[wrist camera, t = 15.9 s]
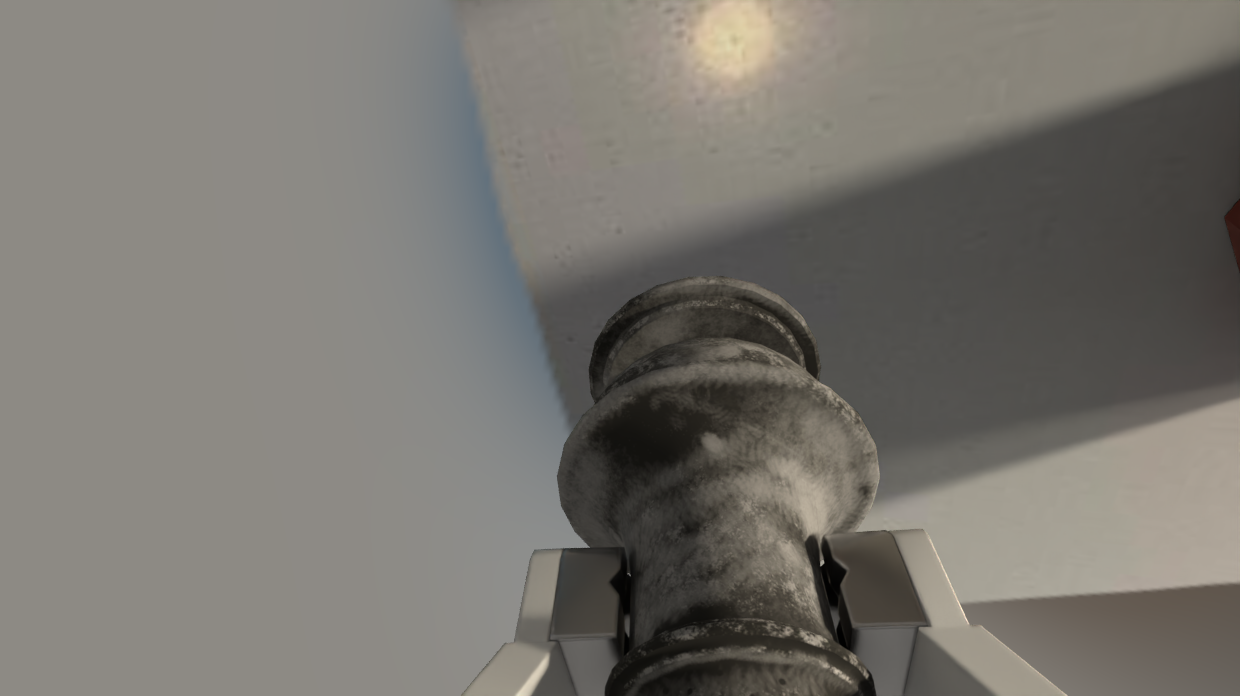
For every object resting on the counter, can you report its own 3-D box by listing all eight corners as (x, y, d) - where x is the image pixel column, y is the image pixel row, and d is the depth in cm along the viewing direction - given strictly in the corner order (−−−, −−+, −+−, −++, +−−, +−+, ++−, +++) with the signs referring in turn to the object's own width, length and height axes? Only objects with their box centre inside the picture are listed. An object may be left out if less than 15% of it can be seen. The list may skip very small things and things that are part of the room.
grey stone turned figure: (759, 493, 17) (916, 1336, 7) (546, 430, 16) (364, 1298, 6) (885, 315, 13) (1533, 1417, 4) (627, 224, 13) (531, 1365, 3)
